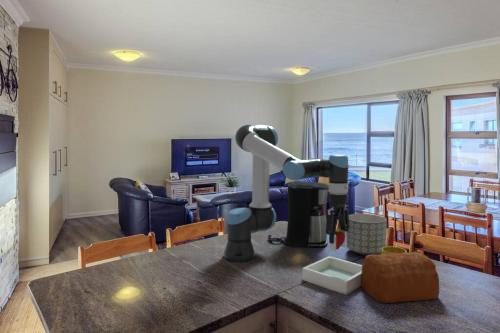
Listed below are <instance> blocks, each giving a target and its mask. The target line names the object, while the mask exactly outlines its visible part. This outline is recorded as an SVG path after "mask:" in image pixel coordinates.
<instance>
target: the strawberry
mask: <svg viewBox="0 0 500 333" xmlns="http://www.w3.org/2000/svg"><path fill="white" fill-rule="evenodd" d="M342 231H345V230H340V226H338V227H337V228H336V232H335V235H336V250H339V249H340V248H341V247H340V246H341V245H342V244H343V242H344V240H345V234H344V233H343V232H342Z"/></svg>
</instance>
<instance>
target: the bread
mask: <svg viewBox="0 0 500 333" xmlns="http://www.w3.org/2000/svg"><path fill="white" fill-rule="evenodd" d="M361 265H362V274H361V286H360V287H361V288H362V289H363V290H364V291H365V293H366V294H368V295H369V296H370V297H372V298H373V299H374V300H376V301H378V302H379V303H382V304H389V303H402V302H403V303H404V302H405V303H406V302H414V301H415V302H416V301H417V302H418V301H429V300H430V301H431V300H437V299H438V298H439V294H440V278H439V274H438V271H437V269H436V268H437V266H436V264H435V262H434V261H432V260H431V259H430V258H429V257H428V256H427V255H425V254H424V253H423V252H419V251H412V252H407V253H391V254H381V253H379V254H376V255H367V256H364V262H363V264H361Z"/></svg>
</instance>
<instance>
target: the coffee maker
mask: <svg viewBox="0 0 500 333" xmlns="http://www.w3.org/2000/svg"><path fill="white" fill-rule="evenodd" d="M286 187H287V207H288V210H287V211H288V212H287V213H288V216H287V217H288V218H287V226H286V236H281V237H272V234H267V235H268V237H267V239H268V240H269V241H270V242H275V243H281V242H282V243H283V245H286V246H291V247H300V248H310V247H311V248H325V247H326V246H327V245H328V243H329V239H328V234H326V221H327V215H326V213H325V210H324V208H323V206H326V204H327V202H328V198H329V193H330V192H329V184H327V183H323V182H316V181H308V180H307V181H305V180H304V181H303V180H302V181H301V180H295V181H290V182H289V183H288V184H287V186H286Z"/></svg>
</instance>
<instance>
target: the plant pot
mask: <svg viewBox="0 0 500 333" xmlns="http://www.w3.org/2000/svg"><path fill="white" fill-rule="evenodd" d="M391 253H408V252H407V250H406V249H405V248H402V247H399V246H393V245H392V246H391V245H390V246H387V245H386V247H383V248H382V249H381V253H380V254H391Z"/></svg>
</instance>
